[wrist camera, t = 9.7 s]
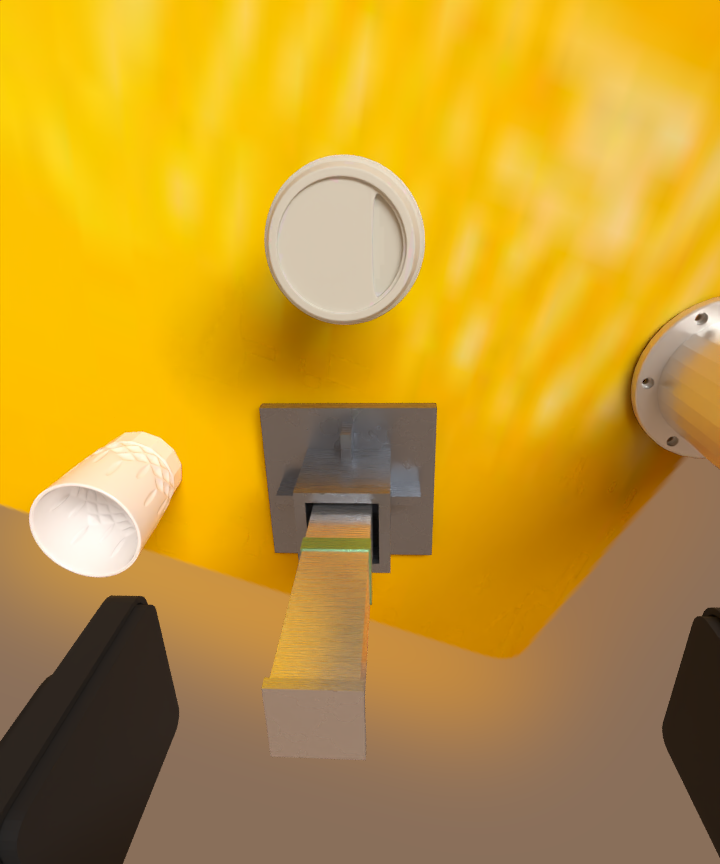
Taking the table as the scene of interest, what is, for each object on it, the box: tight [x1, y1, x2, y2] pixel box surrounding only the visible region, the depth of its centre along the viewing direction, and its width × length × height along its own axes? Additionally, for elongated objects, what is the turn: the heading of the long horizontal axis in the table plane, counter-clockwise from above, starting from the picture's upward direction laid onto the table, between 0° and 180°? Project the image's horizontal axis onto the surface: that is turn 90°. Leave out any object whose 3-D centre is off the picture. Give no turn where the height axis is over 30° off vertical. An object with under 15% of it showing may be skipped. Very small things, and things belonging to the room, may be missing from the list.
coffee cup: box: [265, 155, 425, 325], centre depth 33 cm, size 9×8×12 cm
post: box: [262, 503, 373, 760], centre depth 32 cm, size 5×5×16 cm
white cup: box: [29, 432, 182, 577], centre depth 42 cm, size 8×8×10 cm
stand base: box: [260, 403, 437, 573], centre depth 43 cm, size 14×14×8 cm
